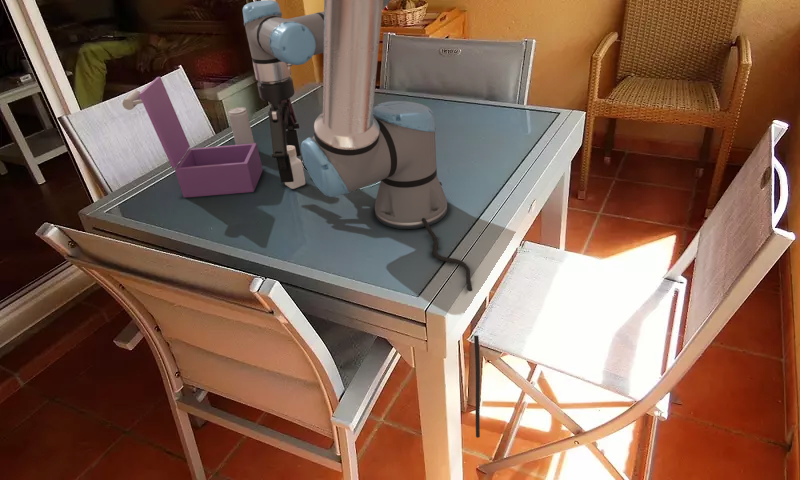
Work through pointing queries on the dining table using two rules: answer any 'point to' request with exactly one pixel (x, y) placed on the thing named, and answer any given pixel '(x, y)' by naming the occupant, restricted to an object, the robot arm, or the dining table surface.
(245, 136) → the beverage can
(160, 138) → the lid
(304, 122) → the dining table surface
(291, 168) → the salt shaker
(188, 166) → the file box
